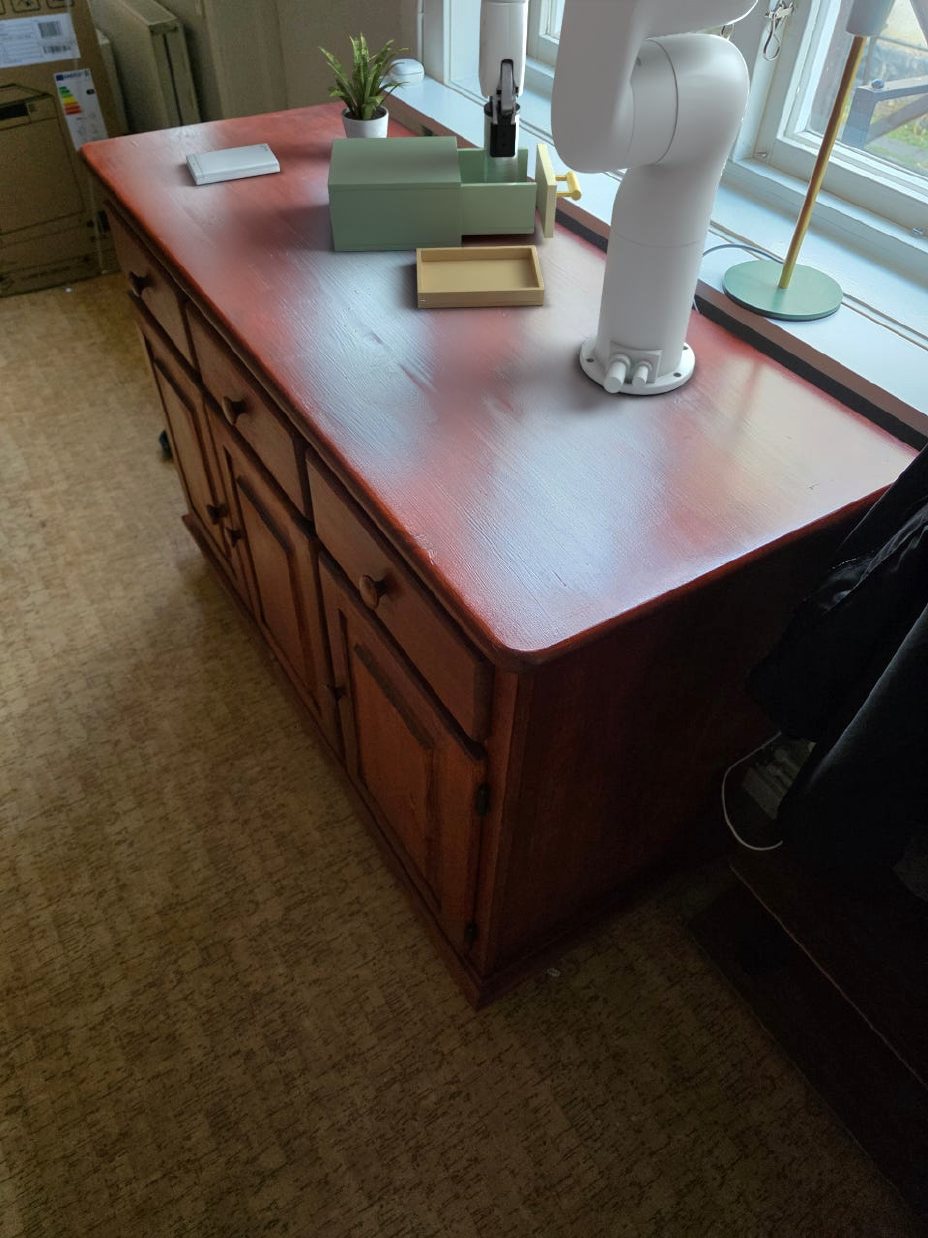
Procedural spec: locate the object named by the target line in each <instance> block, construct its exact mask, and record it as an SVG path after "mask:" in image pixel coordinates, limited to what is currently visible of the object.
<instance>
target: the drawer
mask: <svg viewBox="0 0 928 1238" xmlns="http://www.w3.org/2000/svg"><path fill="white" fill-rule="evenodd" d="M457 150H458V160H459V169H460V178H461V236H473V235H474V236H477V235H479V236H480V235H481V236H482V235H483V236H484V235H518V234H519V235H520V234H521V235H522V234H523V235H525V234H527V235H528V234H534V233H535V223H536V222H535V221H536V207H537V214H538V217H539V222H540V226H541V229H542V234H543V239H553V238H554V233H555V222H556V221H555V220H556V207H557V198H571V200H573V201H575V202H576V201H580V200H581V198H582V195H583V194H582V190H581V188H580V184H579V181H578V178H577V175H576V173H575V171H573V170H571V171H570V170H569V171H568V172H567V173H566V174H558V175H557V174H555V171H554V168H553V166H552V161H551V158H550V153H549V151H548V147H547V143H546V142H537V143H536V155H535V168H534V169H535V170H534V182H533V181H532V182H531V181H529V182H527V180H528V165H529V147H528V146H518V157H517V180H516V183H483V170H484V147H463V148H461V147H459V148H458V147H457ZM557 182H566V184H567V185H566V186H567V188H568V190H558V183H557Z"/></svg>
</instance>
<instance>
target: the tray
mask: <svg viewBox="0 0 928 1238" xmlns="http://www.w3.org/2000/svg"><path fill="white" fill-rule="evenodd" d="M415 254H416V255H415V257H416V287H417V290H416V291H417V308H418V309H437V308H439V309H441V308H475V307H476V308H477V307H481V308H482V307H511V306H512V307H517V306H519V307H520V306H521V307H522V306H544V304H545V291H546V289H545V286H544V281H543V277H542V272H541V267H540V262H539V258H538V253H537V248H536V245H505V246H504V245H503V246H502V245H501V246H499V245H498V246H461V247H455V248H416V250H415ZM421 300H425V301H421Z"/></svg>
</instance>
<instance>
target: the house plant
mask: <svg viewBox="0 0 928 1238" xmlns="http://www.w3.org/2000/svg"><path fill="white" fill-rule="evenodd" d="M348 36H349V38H350V40H351V43H352V45H353V49H352V50H353V53H352V54H353V63H352V65H353V66H352V68H353V70H352V71H351V78H352V82H353V85H352V83H351V81H350V79H349V78H348V75H347V73H346V72H345V69H344V68H343V67H342V65H341V63H340V62H339V61H338V60H337V57H335V56H334V55H333V54H332V53H330V52H329V51H327V50H326V49H324V48H323V47H322V46H318V45H314V46H315V47H317V48H318V49H320V51H322V52H323V53H324V54H325V55H326V57H327V58H328V59H329V61H330V62H331V63H330V62H328V61H326V64H328V65H329V66H331V67H332V69H333V71H335V72H336V73H337V74H338V75H336V74H335V73H333V77H334V78H335V82H336V85H337V87H336V86H329V87H326V88H325V89H326V90H327V91H329V92H331V93H330V94H329V96H328V98H331V97H338V98H340V99H341V100H342V101H343V102H344V103H345V105H346V107H345V108H343V109H342V111H341V112H340V115H341V116H340V117H341V120H342V124H343V129H344V133H345V138H386V137H388V123H389V110H388V109H387V108H386V107H385V106H382V104H383V103H384V101H385V100H386V99H387V98H388V97H389V95H390V94H391V93H392V92H393V91H394V90H395V89H396V88H398V87H399V88H401V89H403V90H405V88H404V87H403V86H402V84H408V83H410V81H401V82H399V83H395V82H389V83H386V84H384V85H382V86H381V84H382V83H383V81H384V79H385V77H386V76H387V74H388V73H389V72H390V71H391V70H392V69H393V68H394V67H395V66H397V65H402V64H404V62H401V61H400V62H395V63H393V64H391V66H389V67H388V69H386V67H385V66H386V65H387V63H388V62H389V61H390V60H391V59H392V58H394V56H396V55H397V54H399V53H400V52H402V51H407V50H413V47H403V48H399V49H396V50H395V51H393V52H391V54H389V55H388V52H389V51H390V50H392V47H390V46H391V44H392V43H393V42H395V40H396V37H393V38H392V39H390V40H388V41H387V42H386V43H385V44H384V45H383V47H382V48H381V49H380V51H379V52H378V53H377V54H375V55H372V56H371V57H369V49H368V45H367V41H366V39H365V36H364V34H363V32H362V31H360V39H359V38H358V36H357V35H356V36H355V38H354V39H353V38H352V37H351V35H350V34H349V35H348ZM360 42H361V43H360ZM387 55H388V57H387ZM375 57H376V58H375ZM386 57H387V58H386ZM374 58H375V60H374V63H373V65H372V66H371V68H370V61H371V60H373V59H374ZM385 58H386V59H385ZM332 64H333V65H332ZM385 70H386V71H385ZM383 71H385V72H384V75H382V73H383ZM381 75H382V77H381ZM338 76H339V77H338ZM380 77H381V78H380ZM340 78H341V79H340ZM342 81H343V82H344V84H345V85H346V87H347V88H346V87H345V85H344V84H343V83H342ZM380 86H381V87H380ZM391 87H392V88H391ZM388 88H391V89H390V90H389V91H388V92H387V94H386V95H384V94H381V93H382V92H383V91H384V90H386V89H388ZM349 92H350V93H349ZM380 94H381V95H380Z"/></svg>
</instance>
